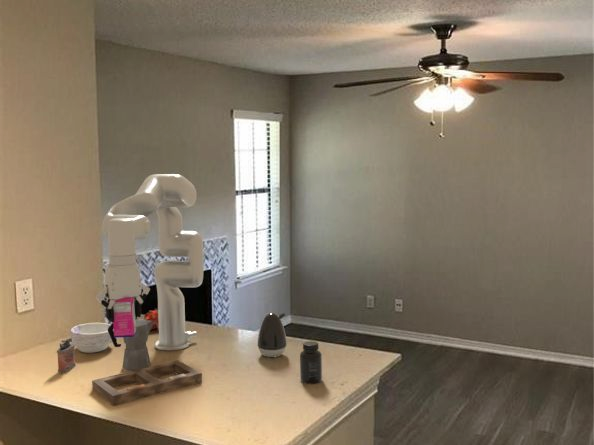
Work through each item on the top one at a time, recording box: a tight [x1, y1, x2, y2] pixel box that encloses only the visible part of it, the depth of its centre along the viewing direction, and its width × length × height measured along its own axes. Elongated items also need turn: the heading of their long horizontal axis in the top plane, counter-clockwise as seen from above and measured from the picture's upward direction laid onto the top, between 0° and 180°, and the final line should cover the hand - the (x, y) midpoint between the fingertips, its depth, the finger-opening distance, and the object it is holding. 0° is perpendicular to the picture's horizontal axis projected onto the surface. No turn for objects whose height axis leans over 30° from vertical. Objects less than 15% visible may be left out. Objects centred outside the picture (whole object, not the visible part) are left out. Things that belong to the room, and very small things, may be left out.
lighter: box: [56, 337, 76, 374], centre depth 216 cm, size 8×3×10 cm, turn 168°
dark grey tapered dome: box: [257, 312, 287, 358], centre depth 229 cm, size 10×10×15 cm
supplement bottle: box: [299, 340, 323, 384], centre depth 205 cm, size 7×7×12 cm
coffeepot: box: [108, 316, 155, 372], centre depth 217 cm, size 15×9×18 cm, turn 110°
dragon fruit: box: [143, 308, 159, 331], centre depth 262 cm, size 8×8×12 cm
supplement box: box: [112, 297, 136, 339], centre depth 194 cm, size 6×6×12 cm
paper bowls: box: [70, 322, 114, 354], centre depth 237 cm, size 15×15×8 cm
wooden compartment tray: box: [91, 359, 203, 407], centre depth 201 cm, size 29×16×3 cm, turn 129°
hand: (124, 318), depth 194 cm, fingers closed on supplement box, 7 cm apart
